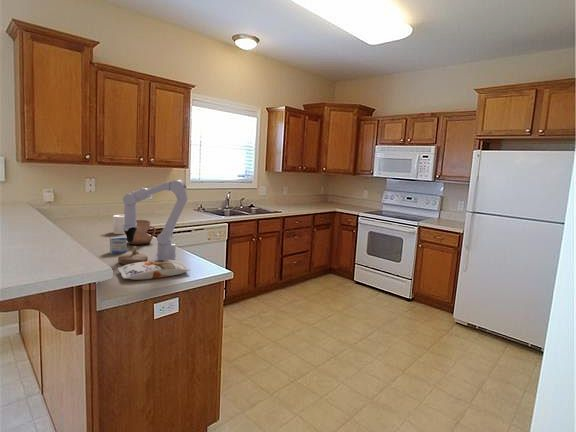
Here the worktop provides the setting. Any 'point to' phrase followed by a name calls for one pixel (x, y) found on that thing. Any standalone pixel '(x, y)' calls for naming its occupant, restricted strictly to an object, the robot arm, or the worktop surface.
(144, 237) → the ceramic jug
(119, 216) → the toilet paper
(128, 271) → the dog food
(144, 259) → the turntable
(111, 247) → the medicine box
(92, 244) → the worktop surface
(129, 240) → the robot arm
